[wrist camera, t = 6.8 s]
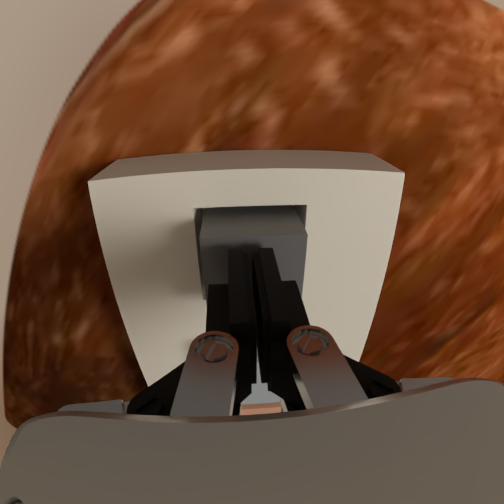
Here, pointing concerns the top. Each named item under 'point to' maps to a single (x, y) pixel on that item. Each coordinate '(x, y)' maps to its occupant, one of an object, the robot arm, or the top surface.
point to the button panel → (235, 195)
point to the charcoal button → (252, 240)
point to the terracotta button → (261, 408)
